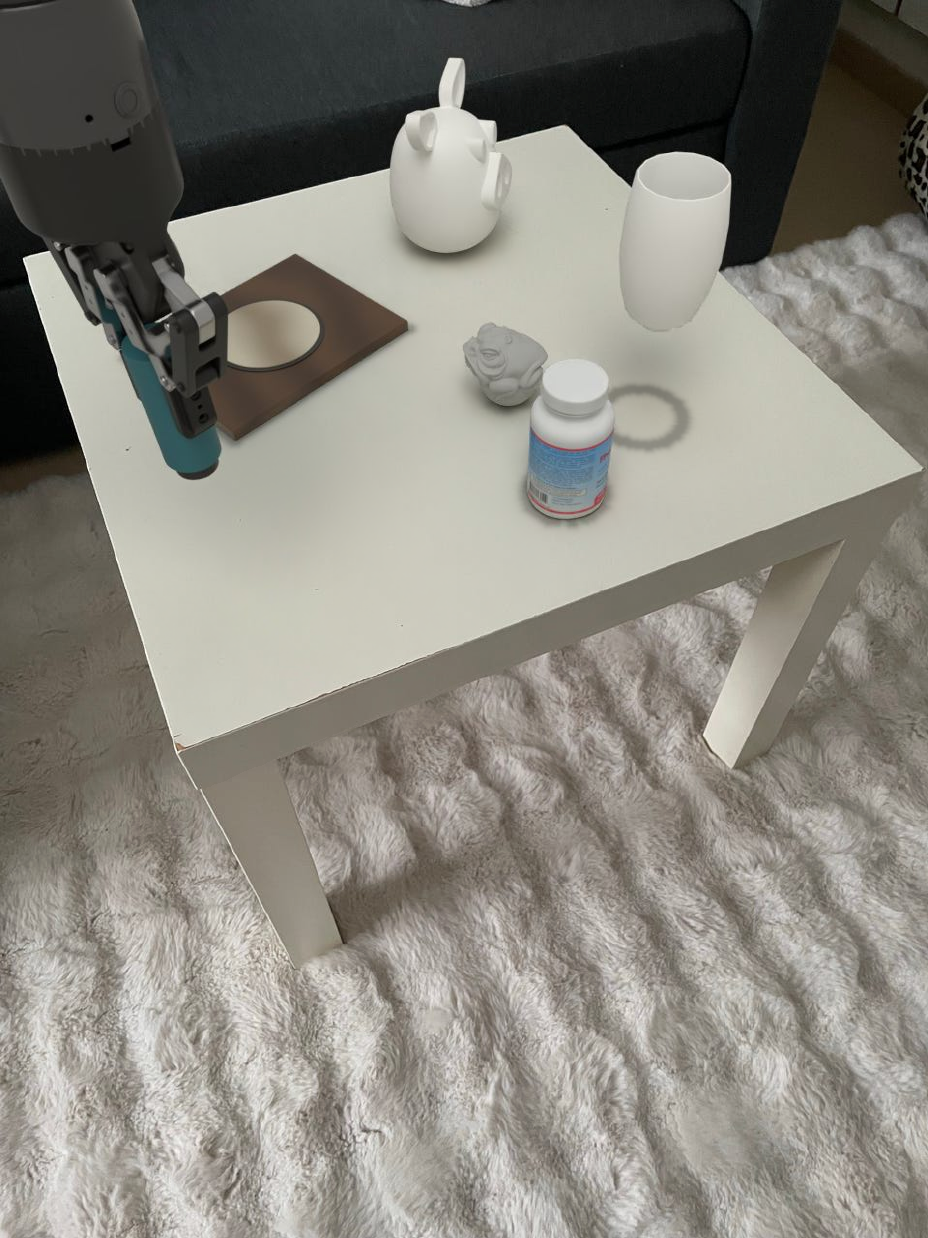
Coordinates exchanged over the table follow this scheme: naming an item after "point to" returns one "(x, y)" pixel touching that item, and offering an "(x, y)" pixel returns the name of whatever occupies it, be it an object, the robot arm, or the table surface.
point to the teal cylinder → (170, 420)
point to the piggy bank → (448, 172)
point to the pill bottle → (570, 440)
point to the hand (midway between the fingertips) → (178, 411)
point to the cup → (673, 238)
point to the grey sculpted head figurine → (505, 363)
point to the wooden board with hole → (292, 340)
